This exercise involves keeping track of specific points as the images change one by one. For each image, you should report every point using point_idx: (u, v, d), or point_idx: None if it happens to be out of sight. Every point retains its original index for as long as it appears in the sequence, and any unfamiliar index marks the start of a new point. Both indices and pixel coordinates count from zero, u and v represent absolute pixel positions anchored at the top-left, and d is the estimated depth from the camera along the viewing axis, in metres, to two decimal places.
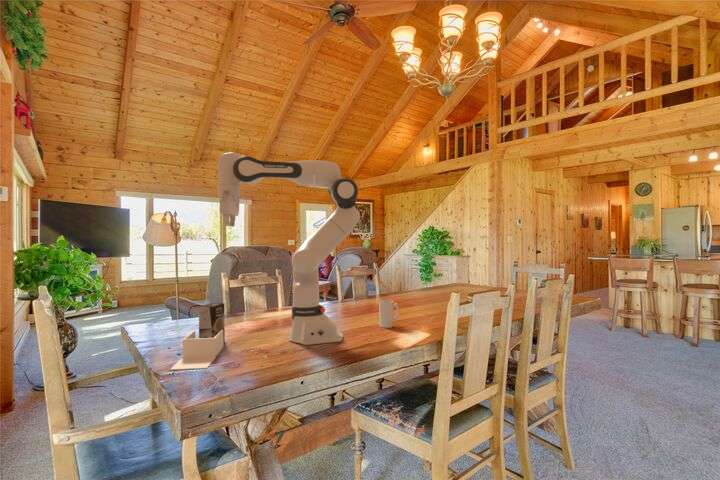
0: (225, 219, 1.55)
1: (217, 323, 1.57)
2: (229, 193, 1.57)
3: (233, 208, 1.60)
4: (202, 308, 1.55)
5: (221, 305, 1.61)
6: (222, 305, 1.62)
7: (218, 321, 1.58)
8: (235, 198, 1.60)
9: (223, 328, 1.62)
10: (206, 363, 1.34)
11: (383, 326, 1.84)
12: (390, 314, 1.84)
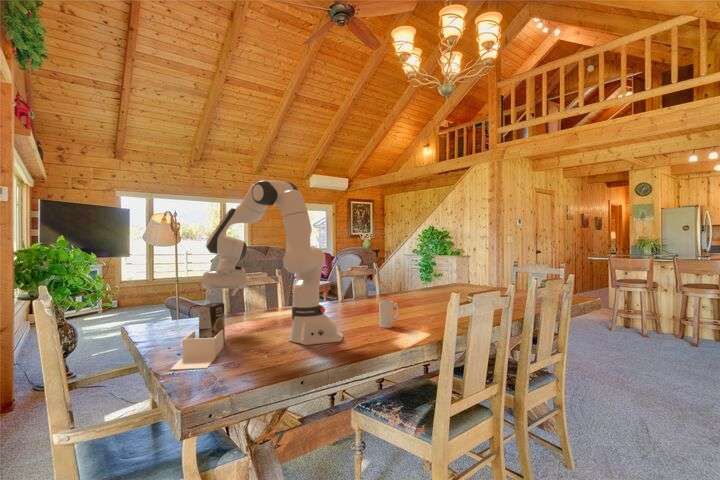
0: None
1: (217, 323, 1.57)
2: (216, 271, 1.89)
3: (221, 280, 1.84)
4: (202, 308, 1.55)
5: (221, 305, 1.61)
6: (222, 305, 1.62)
7: (218, 321, 1.58)
8: (221, 272, 1.86)
9: (223, 328, 1.62)
10: (206, 363, 1.34)
11: (383, 326, 1.84)
12: (390, 314, 1.84)
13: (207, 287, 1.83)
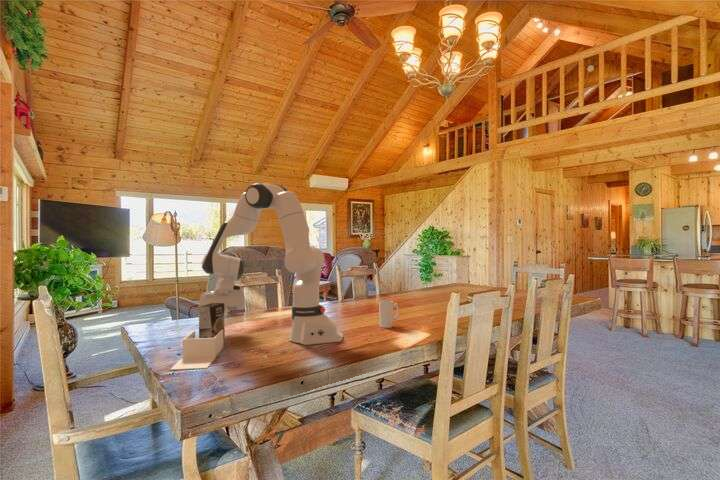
0: None
1: (217, 323, 1.57)
2: (214, 292, 1.81)
3: (219, 301, 1.77)
4: (202, 308, 1.55)
5: (221, 305, 1.61)
6: (222, 305, 1.62)
7: (218, 321, 1.58)
8: (219, 292, 1.79)
9: (223, 328, 1.62)
10: (206, 363, 1.34)
11: (383, 326, 1.84)
12: (390, 314, 1.84)
13: None
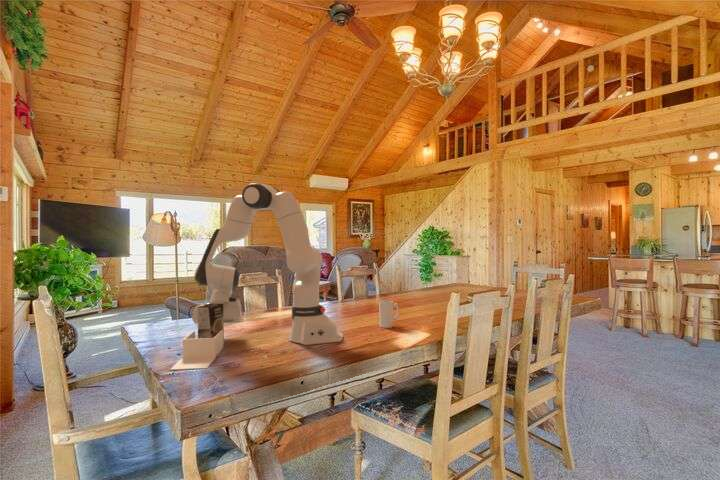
0: None
1: (216, 324, 1.56)
2: None
3: None
4: (201, 309, 1.54)
5: (220, 305, 1.60)
6: (221, 305, 1.60)
7: (217, 322, 1.57)
8: None
9: (222, 329, 1.61)
10: (206, 363, 1.34)
11: (383, 326, 1.84)
12: (390, 314, 1.84)
13: None
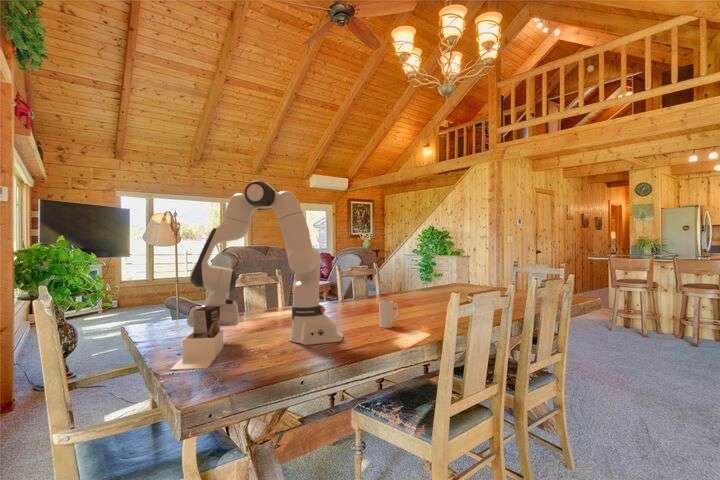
0: None
1: (212, 327, 1.50)
2: None
3: None
4: (197, 312, 1.48)
5: (217, 308, 1.54)
6: (218, 308, 1.54)
7: (214, 325, 1.51)
8: None
9: None
10: (206, 363, 1.34)
11: (383, 326, 1.84)
12: (390, 314, 1.84)
13: None
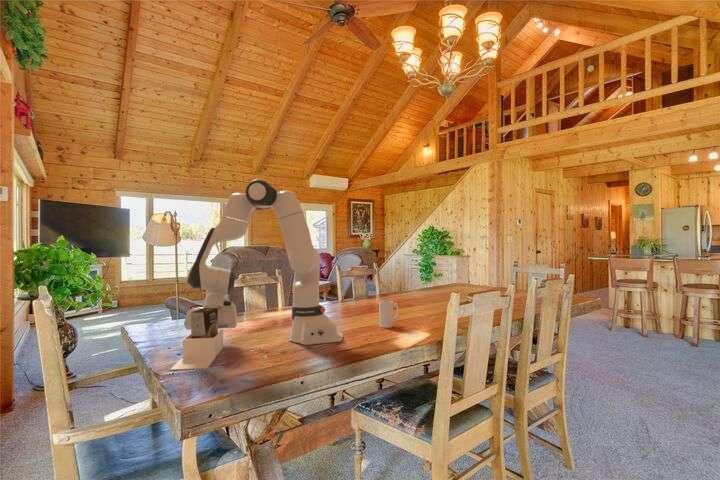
0: None
1: (211, 330, 1.46)
2: None
3: None
4: (195, 314, 1.44)
5: (215, 310, 1.50)
6: (216, 310, 1.51)
7: (212, 327, 1.47)
8: None
9: None
10: (206, 363, 1.34)
11: (383, 326, 1.84)
12: (390, 314, 1.84)
13: None
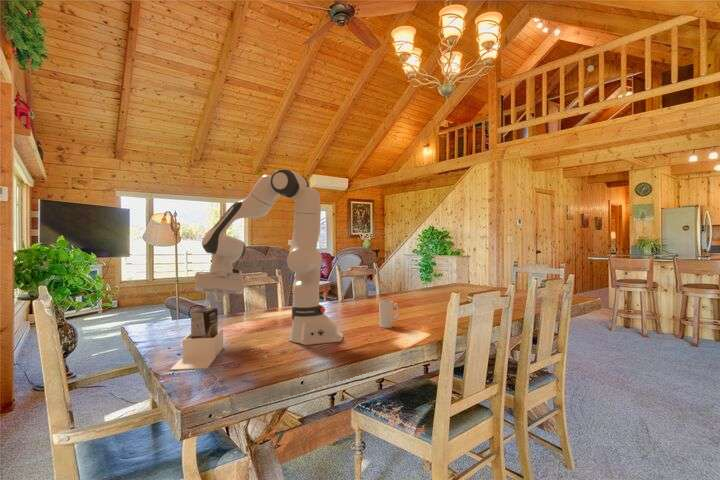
0: (214, 295, 1.66)
1: (210, 330, 1.46)
2: (210, 272, 1.71)
3: (217, 283, 1.68)
4: (195, 314, 1.44)
5: (214, 310, 1.50)
6: (215, 310, 1.51)
7: (212, 327, 1.47)
8: (218, 274, 1.70)
9: None
10: (206, 363, 1.34)
11: (383, 326, 1.84)
12: (390, 314, 1.84)
13: (201, 290, 1.66)
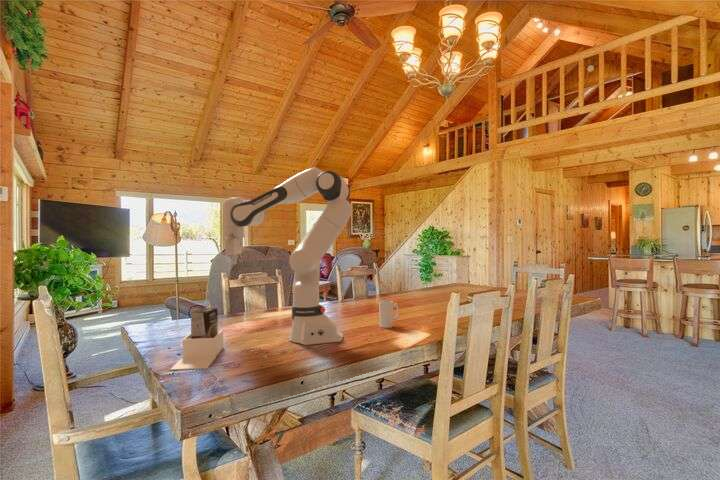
0: (232, 259, 1.74)
1: (210, 330, 1.46)
2: (234, 235, 1.72)
3: (237, 248, 1.75)
4: (195, 314, 1.44)
5: (214, 310, 1.50)
6: (215, 310, 1.51)
7: (212, 327, 1.47)
8: (239, 239, 1.75)
9: None
10: (206, 363, 1.34)
11: (383, 326, 1.84)
12: (390, 314, 1.84)
13: None
